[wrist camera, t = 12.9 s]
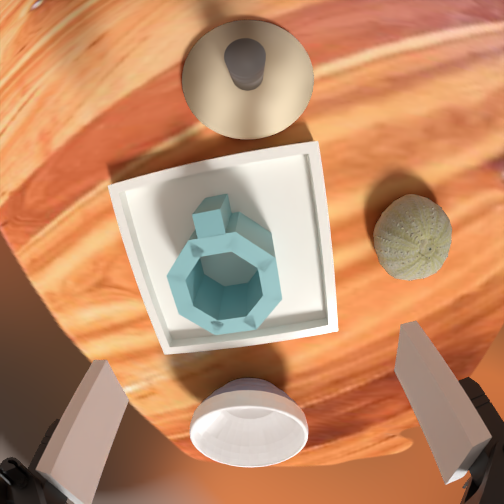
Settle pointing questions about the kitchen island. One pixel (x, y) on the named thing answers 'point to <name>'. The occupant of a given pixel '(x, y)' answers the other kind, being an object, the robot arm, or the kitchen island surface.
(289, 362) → the kitchen island surface
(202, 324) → the teal hollow octagonal piece
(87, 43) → the kitchen island surface
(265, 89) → the stand
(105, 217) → the kitchen island surface
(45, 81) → the kitchen island surface
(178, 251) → the tray
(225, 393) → the bowl
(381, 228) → the sea urchin shell
